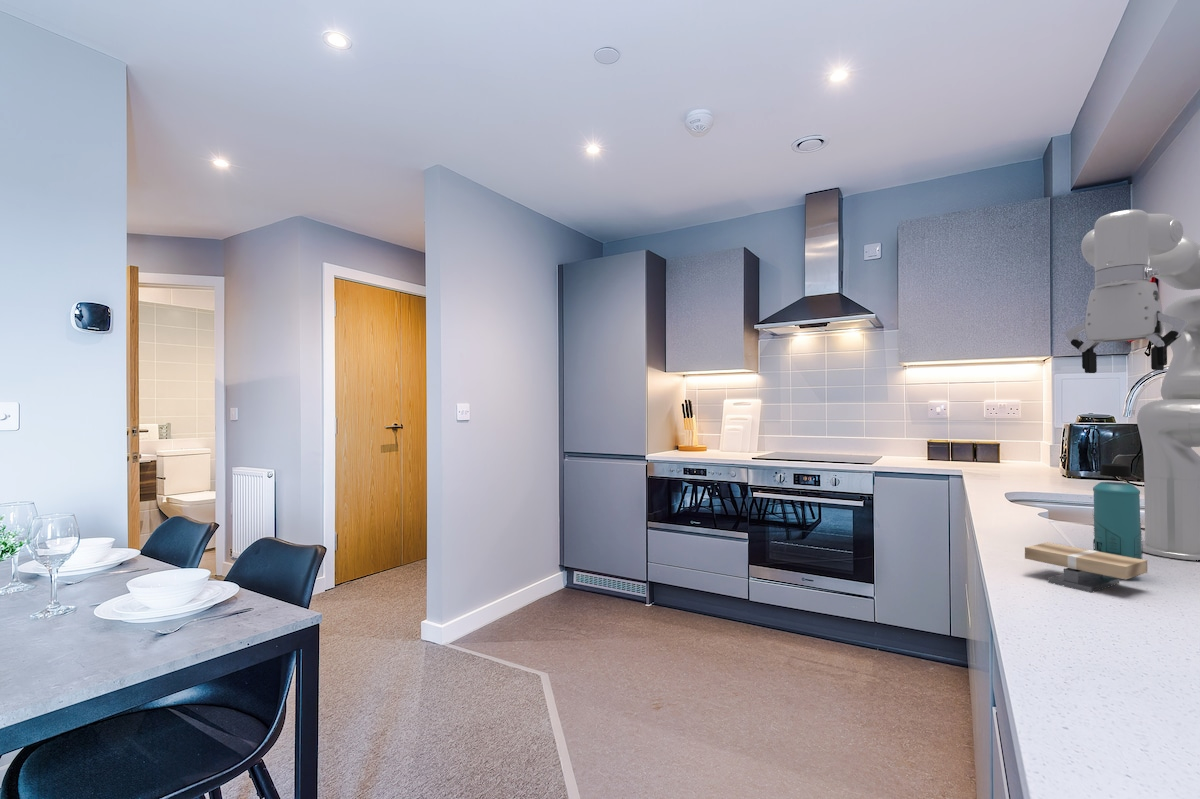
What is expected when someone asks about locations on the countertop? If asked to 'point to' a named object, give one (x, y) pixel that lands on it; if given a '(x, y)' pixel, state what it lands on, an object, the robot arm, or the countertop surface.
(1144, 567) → the beam
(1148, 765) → the countertop surface
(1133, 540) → the beverage bottle
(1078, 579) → the fulcrum
